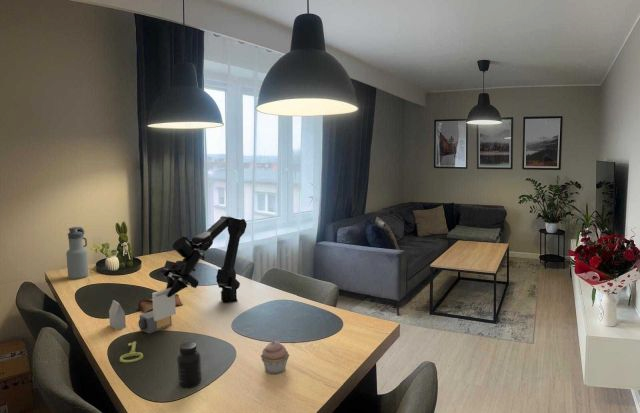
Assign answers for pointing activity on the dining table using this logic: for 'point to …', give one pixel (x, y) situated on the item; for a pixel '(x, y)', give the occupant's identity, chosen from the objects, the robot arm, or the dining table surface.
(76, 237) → the water bottle
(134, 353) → the key
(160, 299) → the side door
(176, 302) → the sunglasses case
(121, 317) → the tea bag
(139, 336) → the dining table surface
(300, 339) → the dining table surface
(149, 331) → the grey rectangular block
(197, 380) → the supplement bottle
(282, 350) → the cupcake
